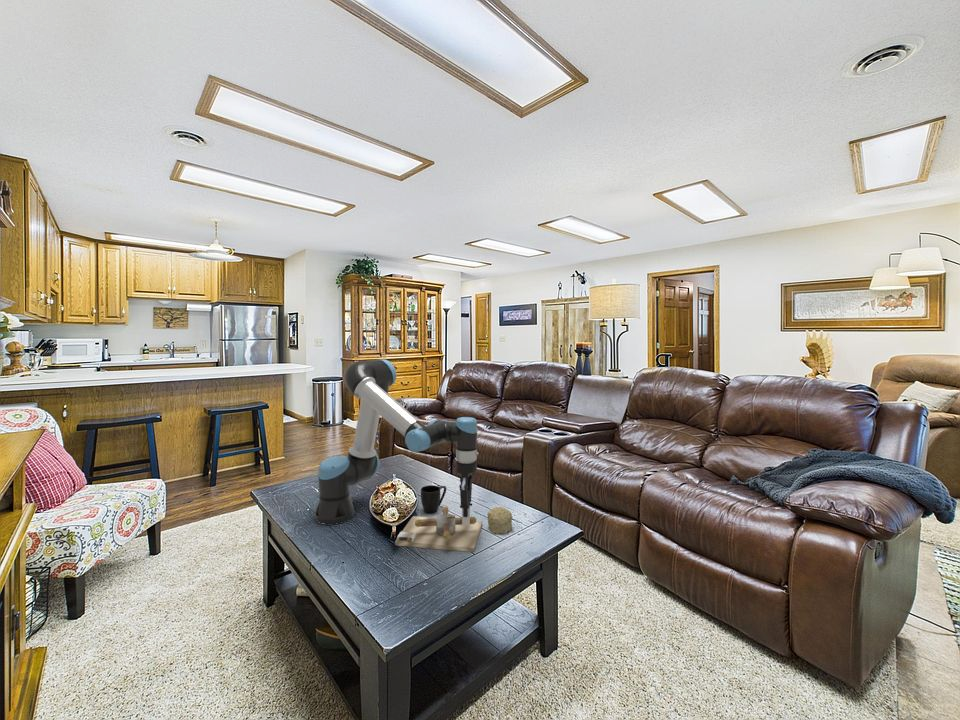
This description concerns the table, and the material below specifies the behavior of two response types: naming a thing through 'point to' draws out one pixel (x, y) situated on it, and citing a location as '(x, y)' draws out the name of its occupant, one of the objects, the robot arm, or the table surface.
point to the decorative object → (499, 520)
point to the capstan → (443, 523)
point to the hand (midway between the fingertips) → (466, 524)
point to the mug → (431, 498)
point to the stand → (439, 536)
